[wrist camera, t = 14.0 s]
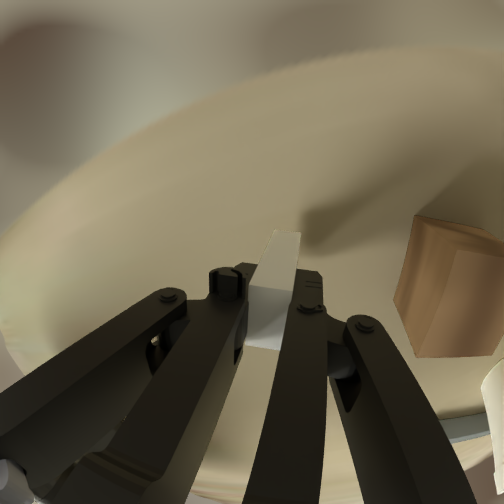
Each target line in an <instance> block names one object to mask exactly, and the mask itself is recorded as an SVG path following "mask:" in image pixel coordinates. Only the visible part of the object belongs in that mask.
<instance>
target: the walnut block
mask: <svg viewBox="0 0 504 504" xmlns="http://www.w3.org/2000/svg"><path fill="white" fill-rule="evenodd" d="M393 301H394V303H395V305H396V308H397V310H398V312H399V315H400V317H401V320H402V322H403V325H404V327H405V330H406V332H407V335H408V337H409V340H410V343H411V345H412V348H413V351H414V354H415V356H416V357H417V358H443V357H474V356H489V355H492V354H493V353H494V351H495V349H496V347H497V345H498V344H499V342H500V340H501V338H502V336H503V334H504V243H503V242H502V241H500V240H499V239H497V238H496V237H494V236H493V235H491V234H489V233H488V232H486V231H485V230H483V229H479V228H474V227H470V226H465V225H461V224H456V223H451V222H447V221H442V220H437V219H432V218H426V217H421V216H416V215H414V220H413V225H412V230H411V235H410V240H409V244H408V248H407V253H406V257H405V261H404V265H403V268H402V272H401V276H400V279H399V283H398V286H397V290H396V293H395V296H394V299H393Z"/></svg>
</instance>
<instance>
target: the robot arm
mask: <svg viewBox="0 0 504 504" xmlns="http://www.w3.org/2000/svg"><path fill="white" fill-rule="evenodd" d="M300 239H301V232H293V231H285V230H277V229H274V231H273V234H272V236H271V238H270V240H269V242H268V244H267V247H266V249H265V251H264V253H263V255H262V257H261V259H260V262H259V264H251V263H243V262H242V263H240V264H238V265H237V266H235V267H234V268H233V267H222V268H217V269H214V270H212V271H211V272H209V294H208V296H207V297H206V299H204V300H187V295H186V293H185V292H184V291H182V290H181V289H177V288H172V287H171V288H170V287H168V288H163V289H160V290H157V291H155V292H153V293H152V294H150V295H149V296H147V297H146V298H144V299H142V300H141V301H139V302H138V303H136V304H135V305H133V306H131V307H130V308H128V309H127V310H125V311H124V312H122V313H120V314H119V315H117V316H116V317H114V318H113V319H111V320H110V321H108V322H106V323H105V324H103V325H102V326H100V327H99V328H97V329H96V330H94V331H92V332H91V333H89V334H88V335H86V336H85V337H83V338H82V339H80V340H79V341H77V342H76V343H74V344H73V345H71V346H70V347H68V348H67V349H65V350H64V351H62V352H60V353H59V354H57V355H56V356H54V357H53V358H51V359H50V360H48V361H47V362H45V363H44V364H42V365H41V366H40V367H38V368H37V369H35V370H34V371H32V372H31V373H29V374H28V375H26V376H25V377H23V378H22V379H20V380H19V381H17V382H16V383H14V384H13V385H12V386H10V387H9V388H7V389H6V390H4V391H3V392H2V393H0V504H32V503H33V502H34V501H35V502H37V503H38V504H185V501H186V499H187V497H188V494H189V492H190V489H191V487H192V484H193V482H194V480H195V477H196V475H197V472H198V470H199V467H200V465H201V462H202V460H203V457H204V455H205V452H206V450H207V447H208V444H209V442H210V439H211V437H212V434H213V432H214V429H215V426H216V424H217V421H218V419H219V416H220V413H221V411H222V408H223V405H224V403H225V400H226V397H227V395H228V392H229V389H230V387H231V384H232V381H233V379H234V376H235V373H236V370H237V368H238V365H239V362H240V359H241V357H242V354H243V343H244V340H245V337H246V344H245V345H249V346H255V347H261V348H267V349H273V350H280V353H279V358H278V363H277V368H276V372H275V377H274V381H273V386H272V390H271V395H270V399H269V404H268V408H267V412H266V416H265V420H264V424H263V429H262V433H261V437H260V440H259V444H258V448H257V452H256V456H255V460H254V463H253V467H252V471H251V474H250V478H249V481H248V485H247V488H246V492H245V495H244V498H243V501H242V504H319V496H320V488H321V479H322V469H323V458H324V445H325V429H326V408H327V376H329V382H330V385H331V388H332V391H333V394H334V398H335V401H336V404H337V408H338V411H339V414H340V418H341V421H342V424H343V428H344V431H345V435H346V438H347V442H348V445H349V449H350V452H351V456H352V459H353V463H354V467H355V470H356V474H357V478H358V481H359V485H360V489H361V493H362V497H363V501H364V504H477V502H476V499H475V497H474V494H473V492H472V489H471V487H470V484H469V482H468V480H467V477H466V475H465V473H464V471H463V468H462V466H461V464H460V462H459V460H458V458H457V455H456V453H455V451H454V449H453V447H452V445H451V443H450V441H449V439H448V437H447V435H446V433H445V431H444V429H443V427H442V425H441V423H440V422H439V420H438V418H437V416H436V414H435V412H434V410H433V408H432V407H431V405H430V403H429V401H428V399H427V398H426V396H425V394H424V392H423V391H422V389H421V387H420V385H419V384H418V382H417V380H416V379H415V377H414V375H413V373H412V372H411V370H410V368H409V367H408V365H407V363H406V362H405V360H404V359H403V357H402V355H401V354H400V352H399V350H398V349H397V347H396V346H395V344H394V342H393V341H392V339H391V338H390V336H389V335H388V333H387V331H386V330H385V328H384V327H383V325H382V324H381V323H380V322H379V321H378V320H376V319H375V318H373V317H370V316H367V315H354V316H351V317H350V318H348V320H347V322H342V321H339V320H337V319H334V318H333V317H331V316H329V315H328V314H327V310H326V307H325V306H324V305H323V284H322V283H323V282H322V276H321V275H320V274H319V273H318V272H317V271H309V270H302V269H297V263H298V255H299V247H300ZM156 336H157V341H155V342H154V343H151V340H152V339H153V338H154V337H156ZM126 416H127V417H126ZM125 417H126V418H125ZM124 418H125V420H124V421H123V423H122V422H121V421H122V420H123V419H124Z"/></svg>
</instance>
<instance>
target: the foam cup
mask: <svg viewBox="0 0 504 504" xmlns="http://www.w3.org/2000/svg"><path fill="white" fill-rule="evenodd" d="M481 391H482V396H483V400H484V404H485V408H486V413H487V417H488V422H489V428H490V433H491V439H492V446H493V453H494V462H495V473H494V478H495V483H496V488H497V494H501V493H503V492H504V358H503V359H501V360H500V361H499V362H498V363H497V364H496V365H495V366H494V367H493V368H492V369H491V370H490V371H489V373H488V374H487V376H486V377H485V378H484V380H483V383H482V385H481Z"/></svg>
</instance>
